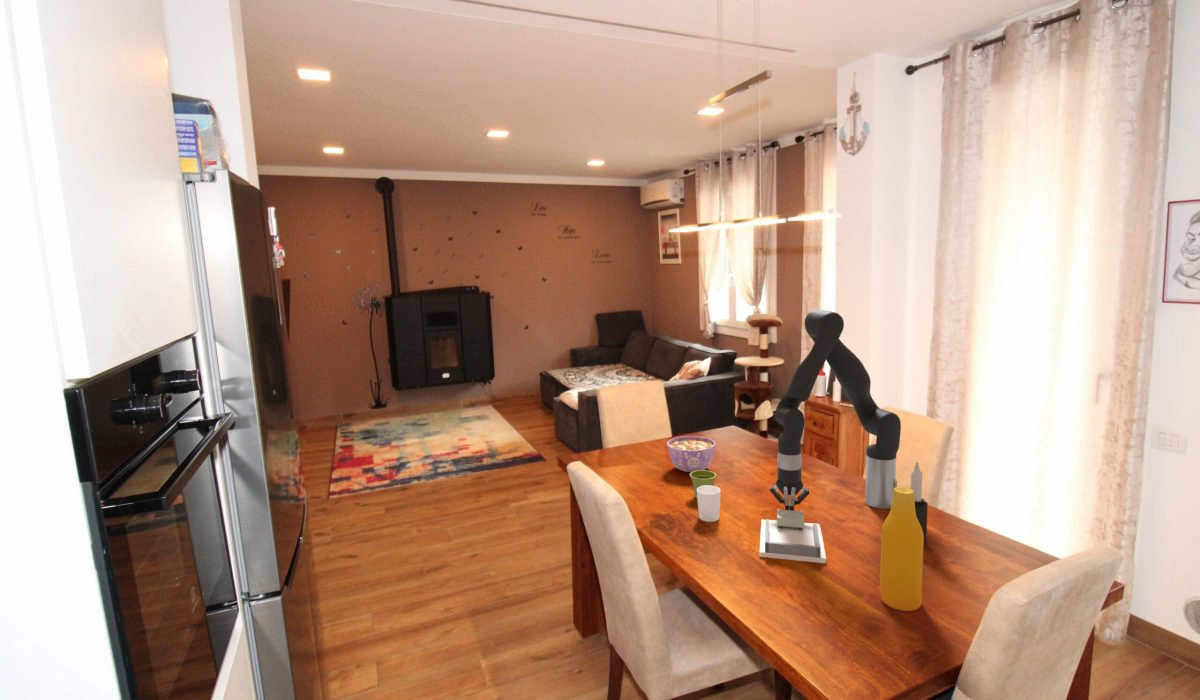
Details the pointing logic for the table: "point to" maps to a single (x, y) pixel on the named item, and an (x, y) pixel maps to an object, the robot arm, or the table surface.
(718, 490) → the white cup
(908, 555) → the beer bottle
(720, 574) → the table surface
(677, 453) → the bowl of food
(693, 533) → the table surface
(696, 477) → the plant pot
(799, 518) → the grey rectangular block
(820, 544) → the loading dock
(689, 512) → the table surface
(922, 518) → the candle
